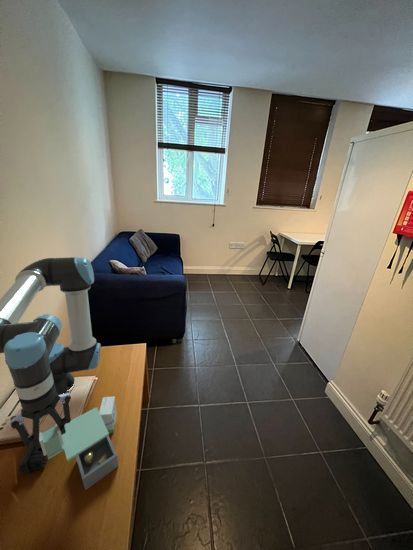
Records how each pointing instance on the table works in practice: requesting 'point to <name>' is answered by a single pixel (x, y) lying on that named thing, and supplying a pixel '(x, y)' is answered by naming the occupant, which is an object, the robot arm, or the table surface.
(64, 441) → the lid
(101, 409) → the ink box
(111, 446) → the tub
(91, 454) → the brass part
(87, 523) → the table surface
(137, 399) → the table surface
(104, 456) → the walnut part
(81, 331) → the robot arm
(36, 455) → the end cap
